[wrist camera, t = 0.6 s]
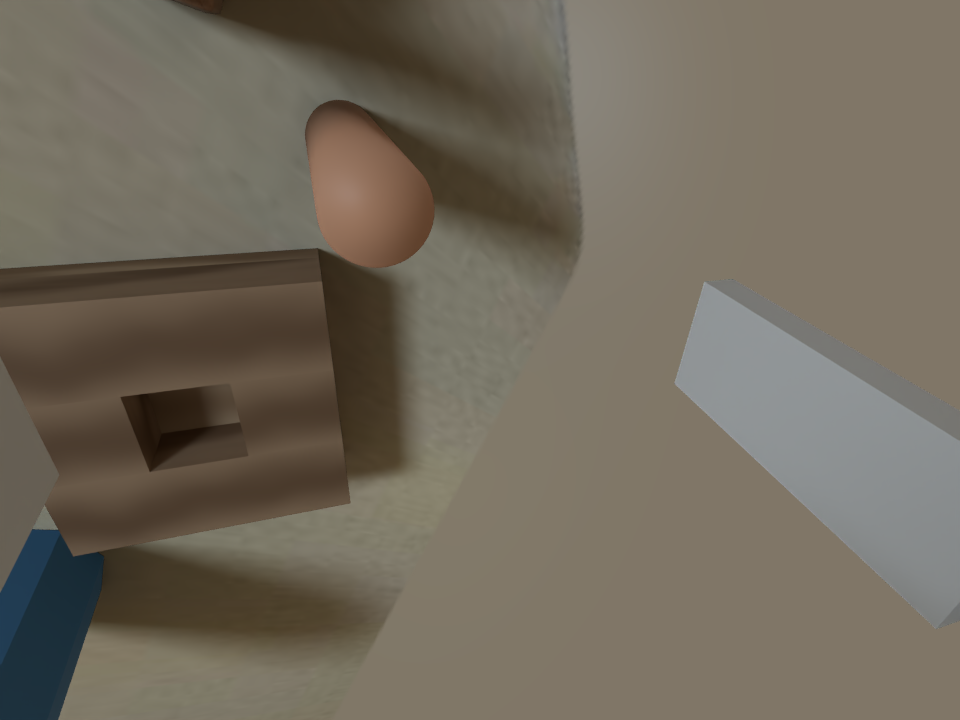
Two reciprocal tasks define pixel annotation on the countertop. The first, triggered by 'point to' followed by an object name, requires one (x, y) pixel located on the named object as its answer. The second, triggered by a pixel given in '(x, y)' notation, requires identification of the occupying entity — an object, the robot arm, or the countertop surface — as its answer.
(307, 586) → the countertop surface
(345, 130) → the pin
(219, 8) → the wooden block structure
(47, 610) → the water bottle
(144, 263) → the socket block
